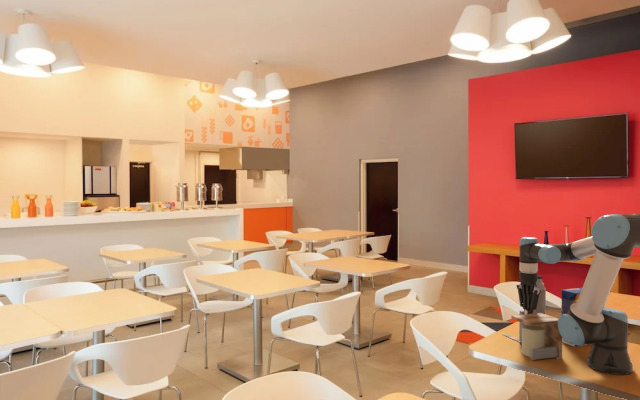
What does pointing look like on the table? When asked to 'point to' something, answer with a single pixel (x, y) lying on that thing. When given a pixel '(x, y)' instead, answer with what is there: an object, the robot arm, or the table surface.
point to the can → (532, 338)
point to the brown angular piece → (548, 323)
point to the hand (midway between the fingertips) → (527, 324)
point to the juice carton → (567, 300)
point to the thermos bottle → (541, 297)
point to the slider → (539, 352)
